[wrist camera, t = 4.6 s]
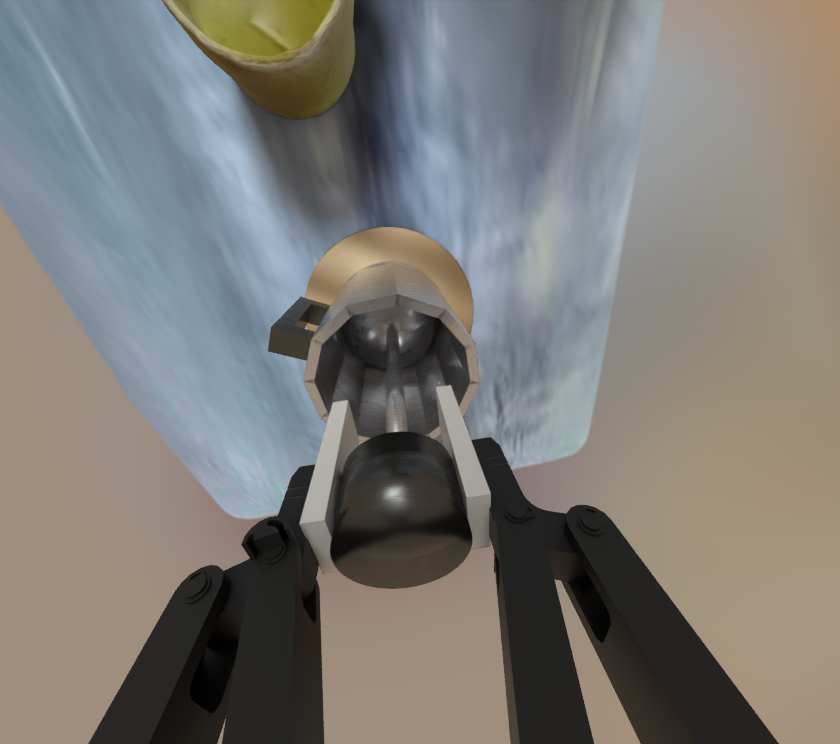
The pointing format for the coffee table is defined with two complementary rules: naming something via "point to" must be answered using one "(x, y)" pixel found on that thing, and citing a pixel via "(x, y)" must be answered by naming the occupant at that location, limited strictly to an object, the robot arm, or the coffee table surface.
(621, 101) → the coffee table surface
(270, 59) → the mug
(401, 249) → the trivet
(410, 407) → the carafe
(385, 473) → the plunger
